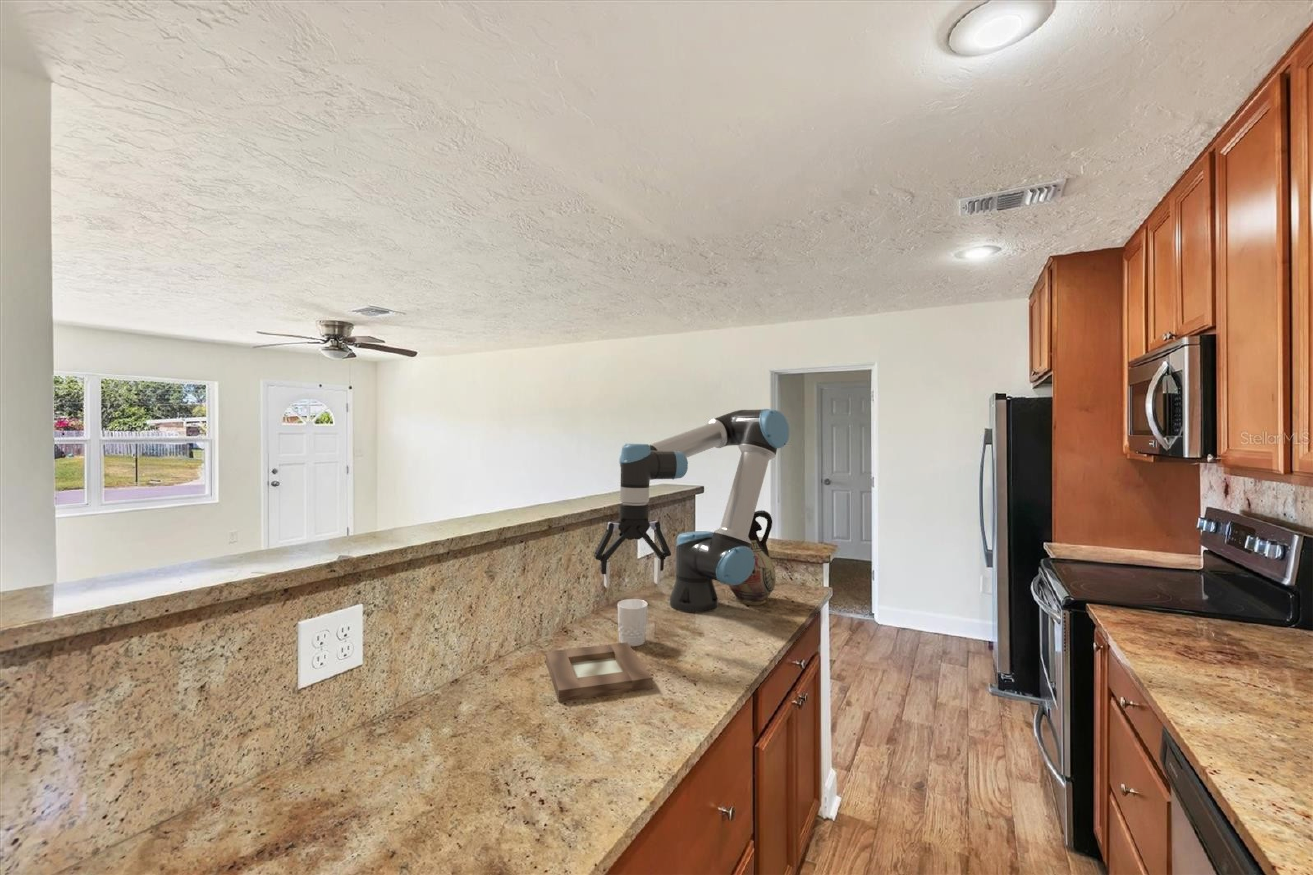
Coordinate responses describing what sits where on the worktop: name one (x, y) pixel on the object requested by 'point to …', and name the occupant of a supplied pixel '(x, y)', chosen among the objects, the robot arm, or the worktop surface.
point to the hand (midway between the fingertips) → (632, 585)
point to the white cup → (632, 621)
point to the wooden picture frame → (596, 671)
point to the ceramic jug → (757, 567)
